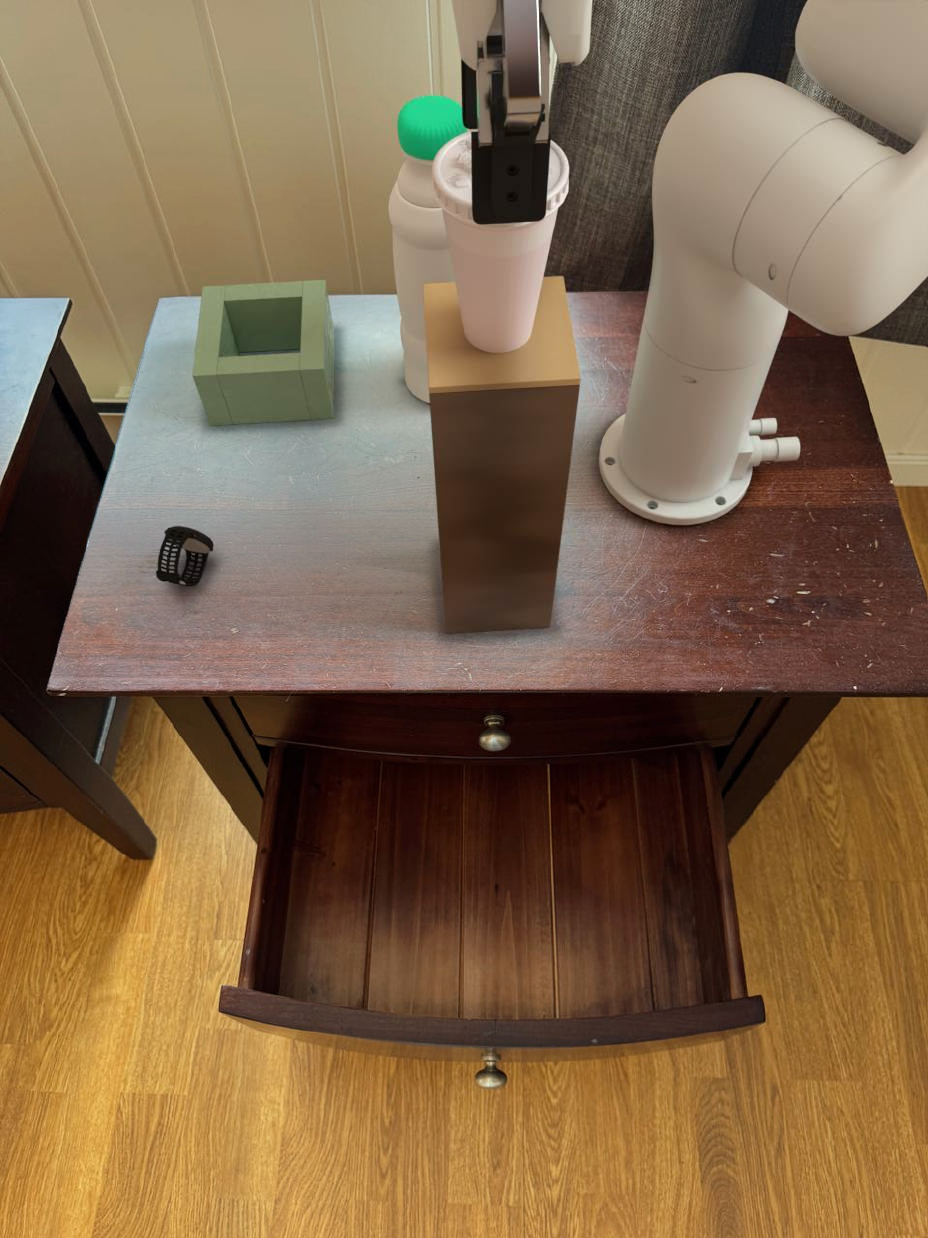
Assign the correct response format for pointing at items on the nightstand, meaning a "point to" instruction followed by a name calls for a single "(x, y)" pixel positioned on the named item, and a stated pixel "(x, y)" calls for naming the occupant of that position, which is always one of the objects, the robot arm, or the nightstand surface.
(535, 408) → the riser
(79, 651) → the nightstand surface
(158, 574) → the smartwatch
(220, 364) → the stand
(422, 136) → the water bottle
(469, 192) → the smoothie
